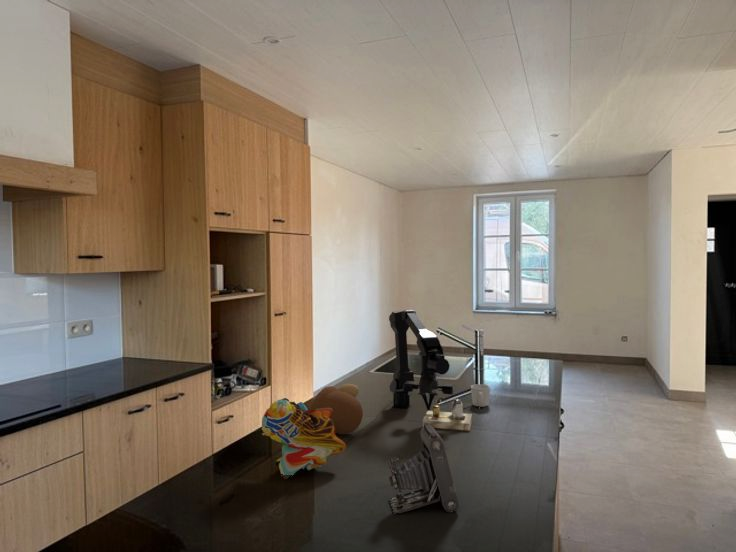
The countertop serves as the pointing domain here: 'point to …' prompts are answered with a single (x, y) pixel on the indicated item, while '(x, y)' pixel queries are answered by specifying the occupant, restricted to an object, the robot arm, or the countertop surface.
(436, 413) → the pin
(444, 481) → the camera
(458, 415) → the cylinder
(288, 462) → the multicolored irregular chunky piece
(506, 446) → the countertop surface
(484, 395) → the cup
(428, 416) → the dock
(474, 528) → the countertop surface
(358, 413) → the toy
